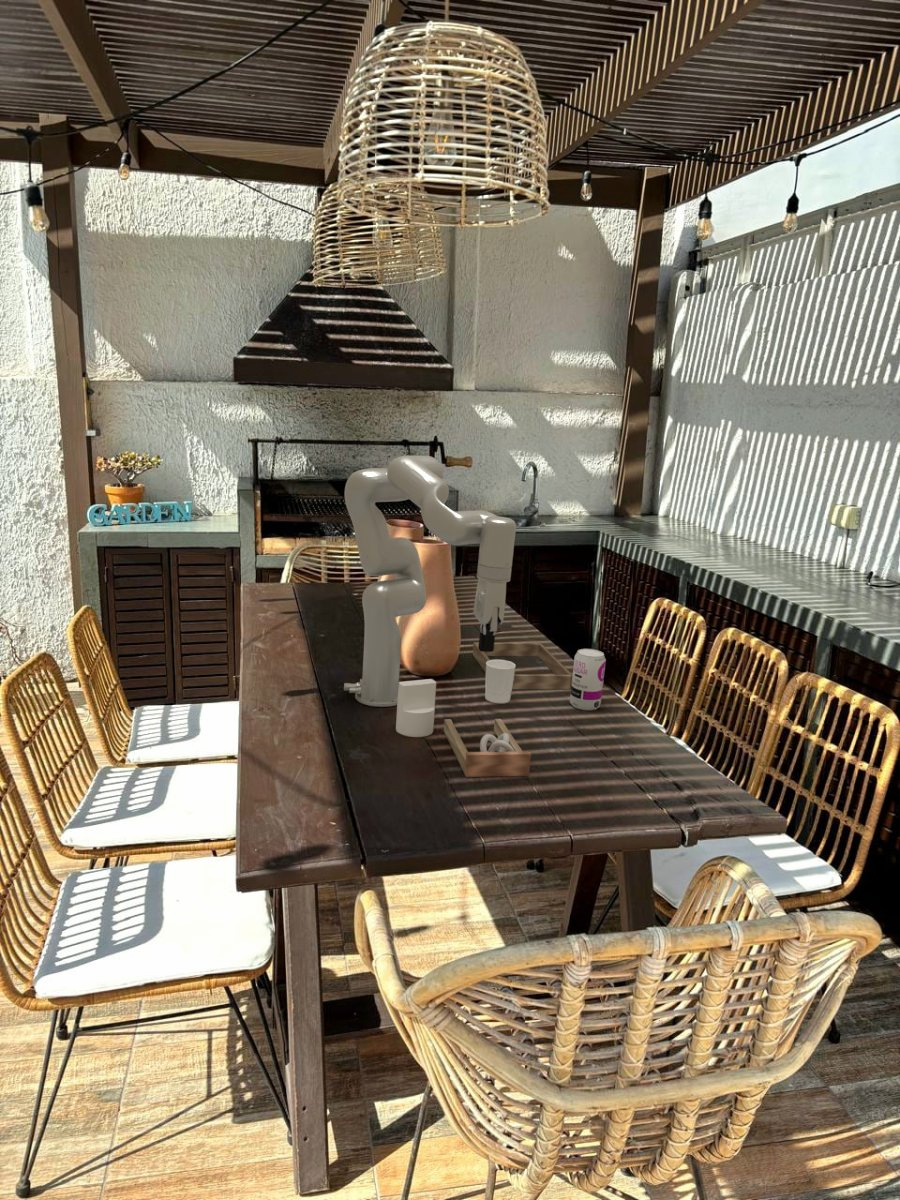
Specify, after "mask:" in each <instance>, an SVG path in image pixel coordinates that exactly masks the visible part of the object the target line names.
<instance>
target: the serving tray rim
mask: <svg viewBox="0 0 900 1200" xmlns="http://www.w3.org/2000/svg"><path fill="white" fill-rule="evenodd" d="M478 646H479V641H478V642H473V645H472V656H473V657H474V659H475V660H476V662H477V663H478V664H479V665H480V667H481V668H482V670H483V671H484V672H485V674H486V662H487V661H489V660H491V659H490V658H489V657H538V658H539V659H540V661H542V663H543V664H544V665H545V666H546V667H547V668H548V669H549V670H550V671H551V672H552V673H553V674H514V681H513V687H512V690H571V685H572V676H573V673H572V672H570V670H569V669H567V668H566V667H565V665H564V664H562V662H560V660H559V659H558V658H557V657H555V656H554V655H553V654H552V652H550V651H549V650H548V648H547V647H545V646H544V645H543V644H542V643H540V642H538V643H537V642H534V643H533V642H531V643H529V642H528V643H527V642H494V650H493V652H483V651H480V650H479V648H478Z"/></svg>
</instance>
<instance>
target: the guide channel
mask: <svg viewBox="0 0 900 1200" xmlns="http://www.w3.org/2000/svg"><path fill="white" fill-rule="evenodd" d="M493 724H494V727H493V731H494V734H496V736H497V738H498V737H499V736H500V735H502V734H503V733H507V734H508V735H509V744H510V745H511V746H512V748H513V749H514V752H507V751H506V752H497V751H495V752H481V751H468V750H467V747H466V745H465V744H464V741H463V740H462V738H461V736H460V734H459V732H458V730H457V728H456V727H455V725H454V723H453V721H452V719H449V718H448V719H447V718H446V719H445V718H444V723H443V733H444V734H445V737H446V739H447V740H448V743H449V745H450V747H451V749H452V750H453V753H454V755H455V757H456V759H457V762H458V764H459V765H460V767H461V770H462V771H463V774H464V776H465V777H466V778H467V777H470V778H473V777H475V778H477V777H523V776H524V777H525V776H530V771H531V770H530V769H531V757H532V753H531V752H530V751H523V750H522V748H521V747H520V746H519V744H518V742H517V741H516V740H515V738H514V737H513V735H512V734H511V732H510V731H509V729H508V728H507V725H505V723H504V721H503V720H502V719H501V718H495V719H494V723H493Z"/></svg>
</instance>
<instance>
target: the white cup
mask: <svg viewBox="0 0 900 1200" xmlns="http://www.w3.org/2000/svg"><path fill="white" fill-rule="evenodd" d="M515 674H516V664H515V663H514V662H513V661H509V660H506V659H490V660H489V661H487V662H486V673H485V681H484V682H485V683H484V685H485V686H484V687H485V693H484V694H485V695H484V698H485V700H486V701H488V702H490V703H492V704H493V703H494V704H506V703H509V702H510V701H511V696H512V692H513V689H512V687H513V681H514V675H515Z"/></svg>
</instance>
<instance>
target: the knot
mask: <svg viewBox="0 0 900 1200" xmlns="http://www.w3.org/2000/svg"><path fill="white" fill-rule="evenodd" d="M488 741H489V742H491V744H490V747H489V748H488V749H487V743H488ZM479 752H514V749H513V748H512V746H511V745H510V744H509V735H508V734H507V733H503V734H502V735H500V736H499V737H498V736H497V737H496V736H495V735H493V734H490V733H486V734H484V735H483V736H482V737H481V739H480V742H479Z"/></svg>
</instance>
